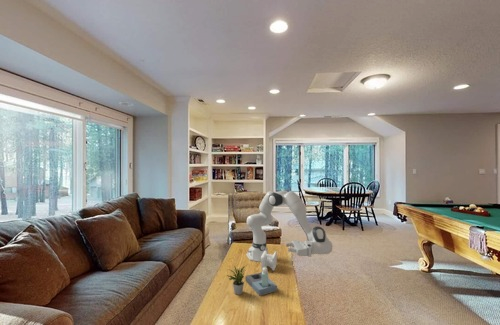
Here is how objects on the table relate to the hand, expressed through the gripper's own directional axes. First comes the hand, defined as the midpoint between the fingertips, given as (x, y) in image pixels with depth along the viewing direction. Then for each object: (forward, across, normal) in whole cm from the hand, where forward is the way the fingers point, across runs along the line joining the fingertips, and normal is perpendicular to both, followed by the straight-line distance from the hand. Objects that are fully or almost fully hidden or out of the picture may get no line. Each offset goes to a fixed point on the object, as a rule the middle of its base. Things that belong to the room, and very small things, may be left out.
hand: (287, 247), depth 163 cm
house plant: (+32, +7, +26) cm, 42 cm away
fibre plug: (+15, +5, +26) cm, 31 cm away
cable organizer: (+10, -28, +26) cm, 40 cm away
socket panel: (+18, 0, +26) cm, 31 cm away
